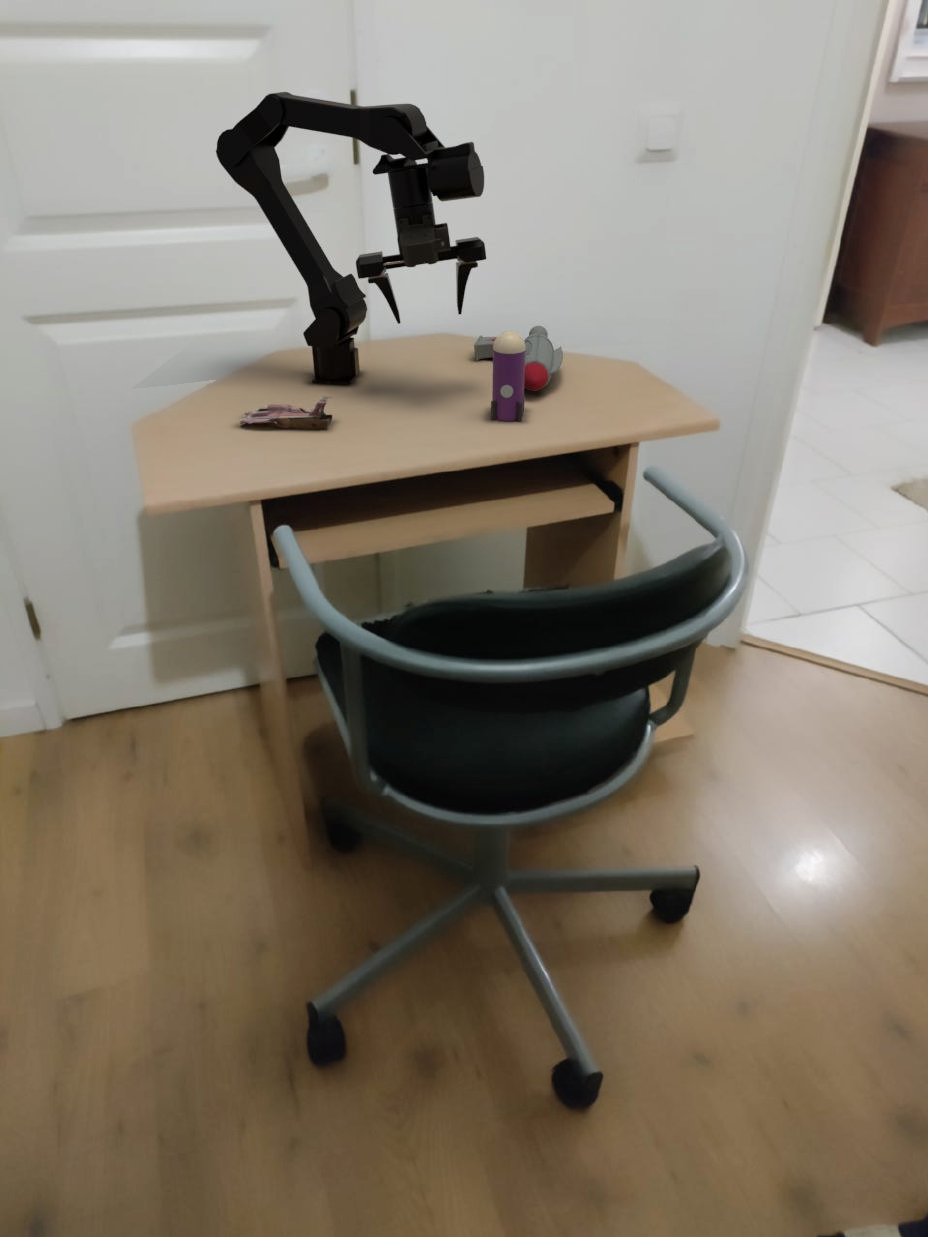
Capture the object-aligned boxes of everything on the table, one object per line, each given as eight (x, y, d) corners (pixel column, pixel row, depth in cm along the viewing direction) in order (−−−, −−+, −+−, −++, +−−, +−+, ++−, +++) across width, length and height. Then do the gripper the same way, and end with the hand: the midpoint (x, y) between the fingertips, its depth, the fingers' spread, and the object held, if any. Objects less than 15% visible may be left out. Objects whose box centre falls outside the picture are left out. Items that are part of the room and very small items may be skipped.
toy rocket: (490, 420, 132) (491, 336, 125) (493, 408, 135) (495, 326, 129) (521, 422, 131) (524, 337, 124) (524, 410, 135) (527, 327, 128)
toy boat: (236, 429, 129) (232, 402, 127) (248, 414, 133) (244, 388, 131) (326, 433, 128) (324, 405, 125) (335, 418, 132) (333, 391, 130)
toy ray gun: (480, 358, 160) (564, 349, 158) (466, 408, 139) (563, 399, 137) (475, 324, 157) (561, 314, 155) (461, 371, 136) (560, 360, 134)
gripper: (345, 218, 121) (366, 337, 128) (482, 197, 121) (496, 317, 128) (349, 214, 131) (368, 324, 138) (476, 194, 131) (489, 306, 138)
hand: (429, 318), depth 135 cm, fingers open, 9 cm apart
